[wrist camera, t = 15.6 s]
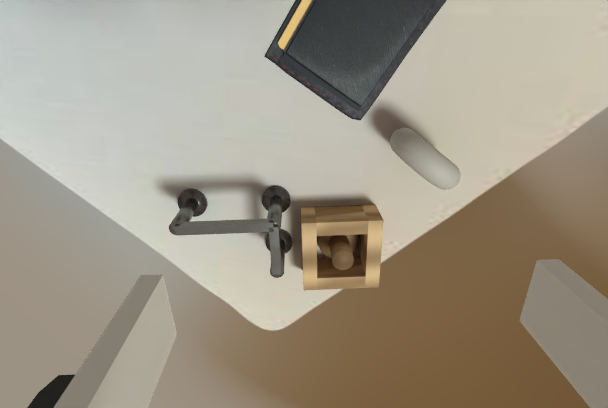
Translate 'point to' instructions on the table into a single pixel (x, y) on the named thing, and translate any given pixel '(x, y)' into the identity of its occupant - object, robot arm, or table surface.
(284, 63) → the dark grey book
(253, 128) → the table surface
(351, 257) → the peg stand
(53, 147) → the table surface
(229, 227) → the gray metal stand
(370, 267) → the wooden square frame
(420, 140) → the donut
